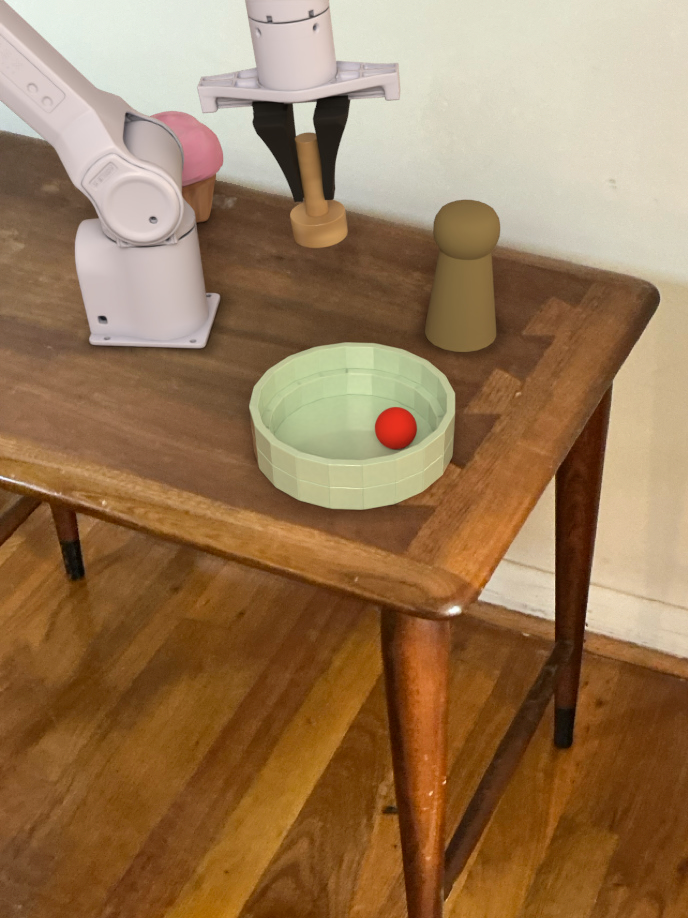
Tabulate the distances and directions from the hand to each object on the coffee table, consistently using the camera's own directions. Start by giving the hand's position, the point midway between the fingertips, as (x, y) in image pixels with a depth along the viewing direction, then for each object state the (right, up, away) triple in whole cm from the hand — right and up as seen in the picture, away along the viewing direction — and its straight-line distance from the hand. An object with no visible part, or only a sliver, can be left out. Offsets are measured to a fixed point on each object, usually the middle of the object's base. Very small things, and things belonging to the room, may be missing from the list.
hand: (315, 195), depth 80 cm
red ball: (+6, -19, -8) cm, 22 cm away
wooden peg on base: (0, -2, +2) cm, 3 cm away
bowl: (+3, -20, -6) cm, 22 cm away
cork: (+12, -10, +5) cm, 16 cm away
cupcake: (-14, +4, +19) cm, 24 cm away
